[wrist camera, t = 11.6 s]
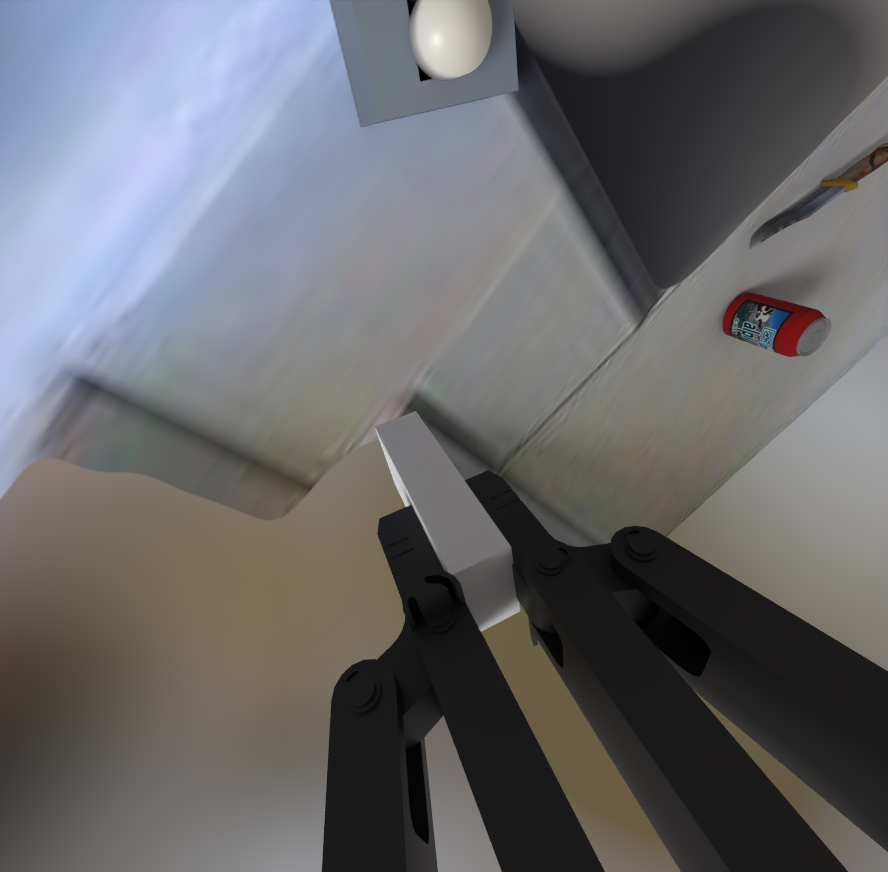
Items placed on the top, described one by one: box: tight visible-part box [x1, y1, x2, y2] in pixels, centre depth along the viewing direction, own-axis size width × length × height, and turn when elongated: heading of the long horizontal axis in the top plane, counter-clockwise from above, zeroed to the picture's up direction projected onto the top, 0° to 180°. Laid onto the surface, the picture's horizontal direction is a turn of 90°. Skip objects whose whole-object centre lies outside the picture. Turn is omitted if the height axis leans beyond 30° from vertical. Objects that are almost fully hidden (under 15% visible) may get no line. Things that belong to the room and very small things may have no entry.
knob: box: [409, 0, 492, 81], centre depth 31 cm, size 5×5×8 cm
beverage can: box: [723, 293, 831, 357], centre depth 62 cm, size 7×7×12 cm
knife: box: [750, 143, 888, 249], centre depth 58 cm, size 25×1×5 cm, turn 120°
